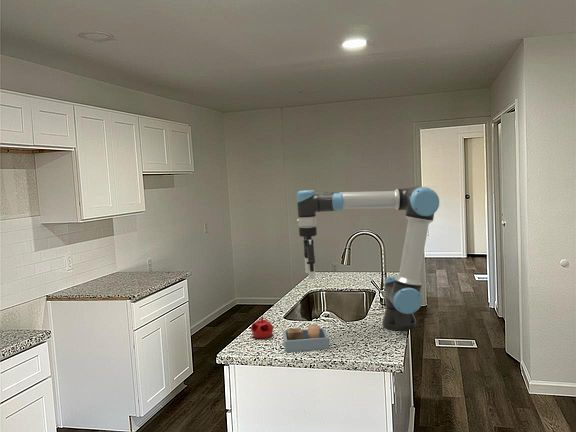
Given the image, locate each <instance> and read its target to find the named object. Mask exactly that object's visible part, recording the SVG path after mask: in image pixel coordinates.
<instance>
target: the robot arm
mask: <svg viewBox="0 0 576 432" xmlns="http://www.w3.org/2000/svg"><path fill="white" fill-rule="evenodd" d="M296 200H297V201H296V203H297V205H296V206H297V216H298V217H297V218H298V219H296V222H297V223H298V227H299V228H298V235H299V236H300V237H303V242H302V243H303V256H304V268H305V270H304V271H305V274H308V280H316V267H315V266H316V265H315V263H316V259H315V258H316V256H315V246H314V239H312V237H315V236H317V234H318V231H317V227H316V226H317V214H316V213H320V212H322V213H324V212H341V211H342V210H345V209H346V210H348V209H349V210H351V209H353V210H354V209H355V210H357V209H362V210H363V209H395V210H396V211H406V212H405V218H406V219H407V226H406V232H405V237H404V242H403V244H404V245H403V248H402V255H401V260H400V267H399V273H398V275H393V276H387V277H385V278H384V283H383V284H384V293H385V295H384V296H385V312H384V315H383V318H382V327H383V328H384V329H387V330H391V331H397V332H398V331H400V332H401V331H410V330H413V329H415V328H417V320H416V317H415V315H414V313H416V312H417V311H418V310H420V308H421V307H422V302H423V298H422V294H421V292H422V291H421V290H422V287H423V286H422V285H423V283H422V281H421V280H420V274H421V270H422V265H423V259H424V254H425V247H426V242H427V235H428V231H429V225H430V224H431V223H432V222H433V221H434V217H435V213H436V212H437V211H438V209H439V208H440V197H439V195H438V194H437V192H436V191H435V190H433V189H431V188H429V187H427V186H412V187H411V186H410V187H404V188H396V189H395V190H389V191H387V190H386V191H382V190H381V191H379V190H378V191H341V192H340V191H339V192H337V191H336V192H334V191H333V192H329V191H325V192H322V193H321V194H316V193H315V190H314V189H308V190H299V191H298V192H297V193H296Z"/></svg>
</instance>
